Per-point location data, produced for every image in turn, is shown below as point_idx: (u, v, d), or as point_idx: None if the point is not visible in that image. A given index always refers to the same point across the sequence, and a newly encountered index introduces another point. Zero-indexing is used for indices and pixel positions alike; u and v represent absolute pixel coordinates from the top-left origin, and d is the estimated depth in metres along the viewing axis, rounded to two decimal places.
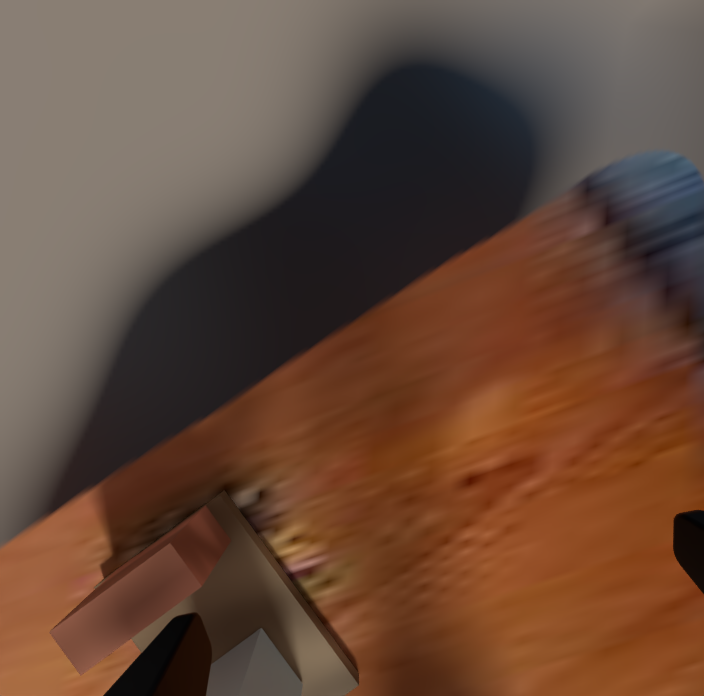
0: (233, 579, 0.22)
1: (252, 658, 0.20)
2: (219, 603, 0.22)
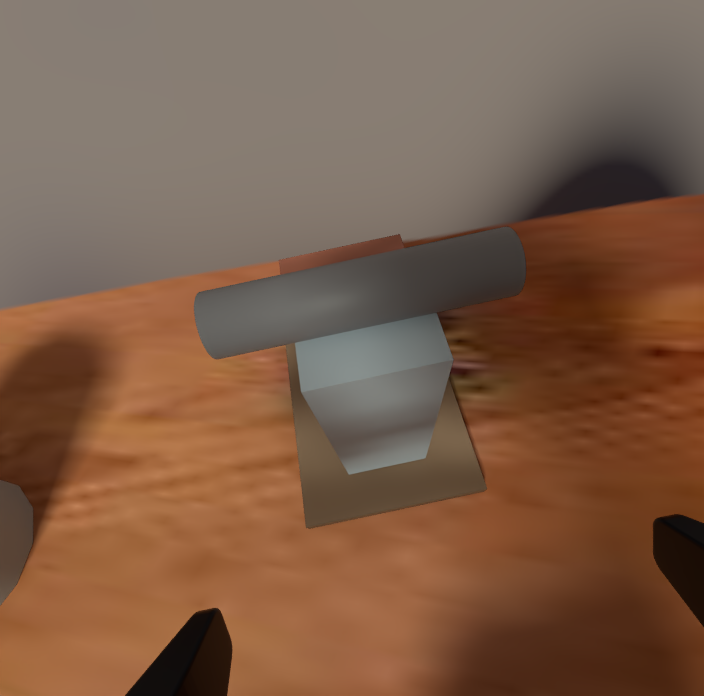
0: None
1: None
2: None
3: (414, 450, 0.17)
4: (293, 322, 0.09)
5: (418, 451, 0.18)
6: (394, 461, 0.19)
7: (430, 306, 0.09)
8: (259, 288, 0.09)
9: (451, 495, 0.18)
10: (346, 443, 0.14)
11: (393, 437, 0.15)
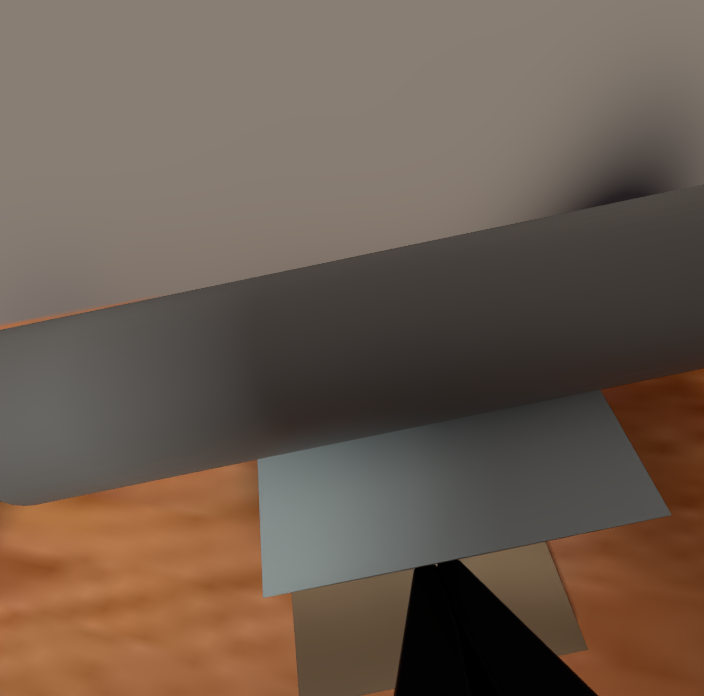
0: None
1: None
2: None
3: None
4: (236, 423, 0.03)
5: None
6: None
7: (622, 377, 0.03)
8: (143, 325, 0.03)
9: None
10: (364, 578, 0.08)
11: None
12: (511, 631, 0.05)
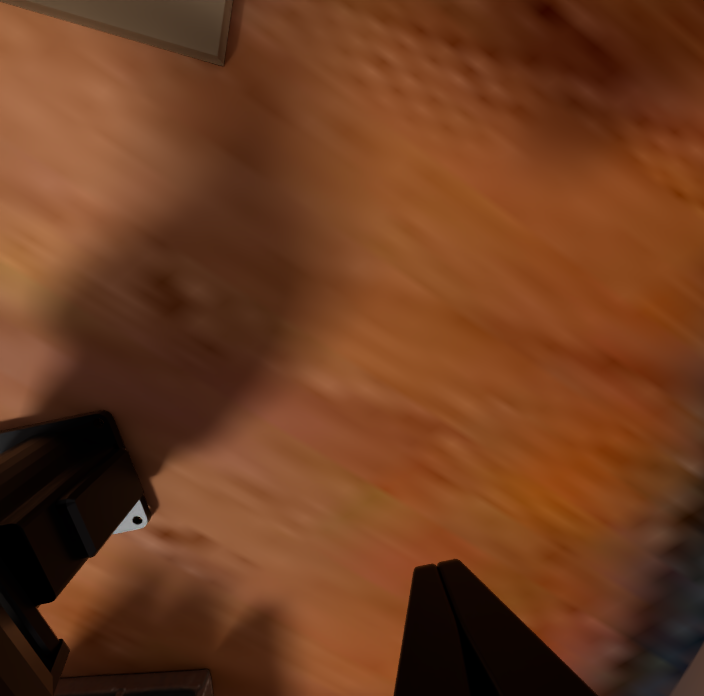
0: None
1: None
2: None
3: None
4: None
5: None
6: None
7: None
8: None
9: (171, 41, 0.14)
10: None
11: None
12: (511, 631, 0.05)
